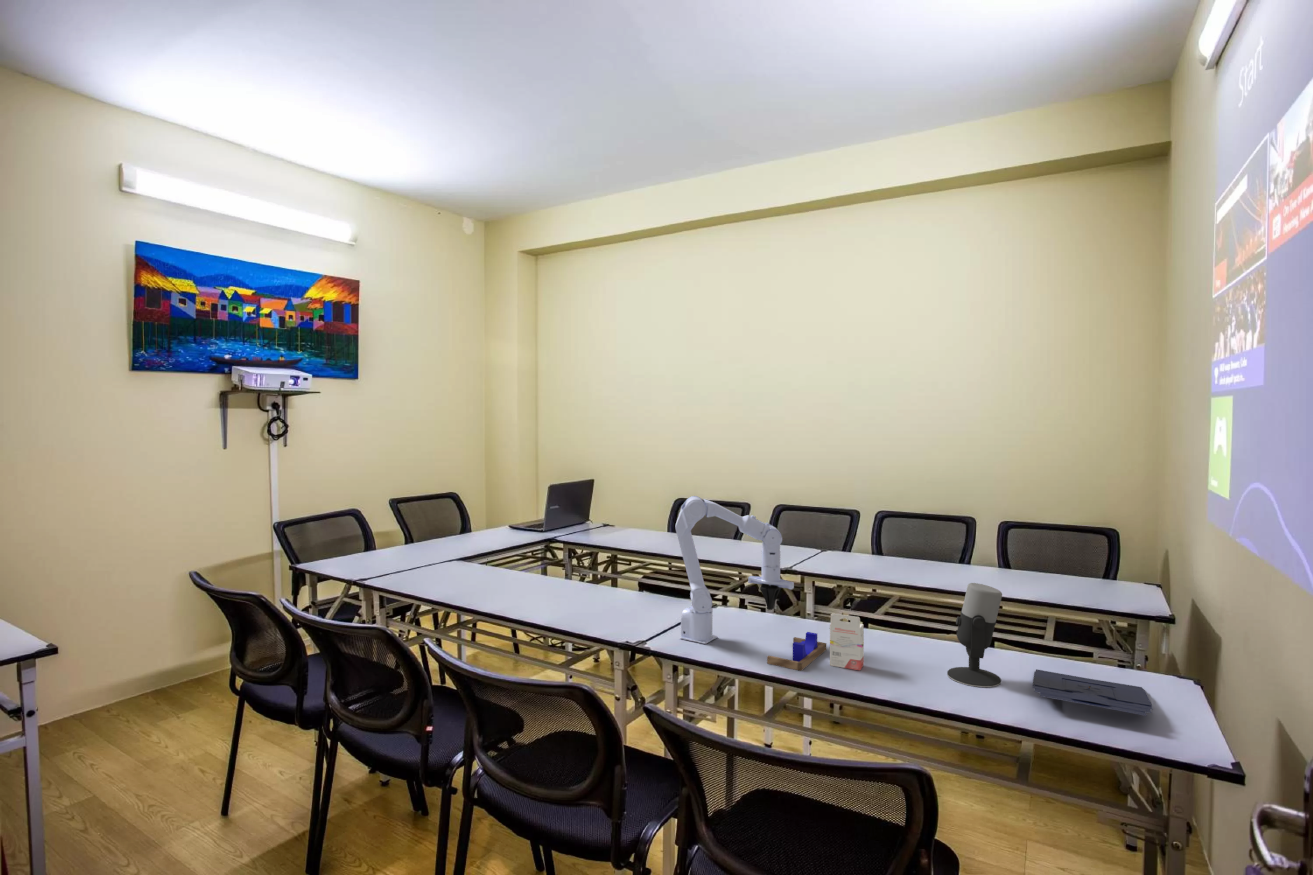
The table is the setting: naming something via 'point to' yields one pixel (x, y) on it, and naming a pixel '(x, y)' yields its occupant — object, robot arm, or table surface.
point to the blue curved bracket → (804, 646)
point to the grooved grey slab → (1092, 692)
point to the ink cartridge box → (846, 642)
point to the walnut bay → (801, 664)
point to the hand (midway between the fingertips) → (770, 608)
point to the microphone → (977, 634)
